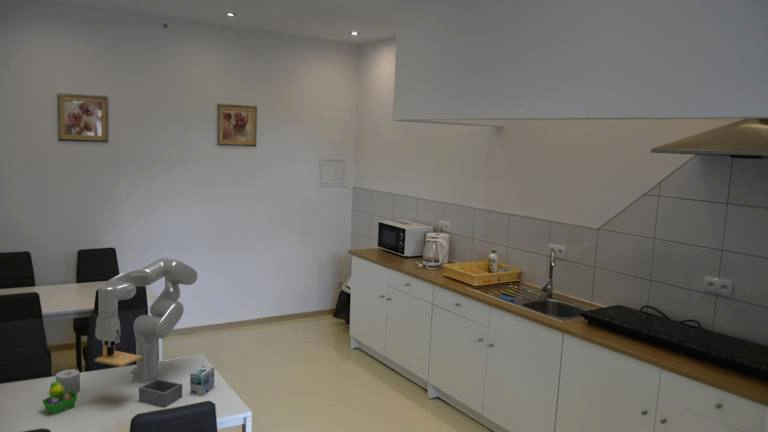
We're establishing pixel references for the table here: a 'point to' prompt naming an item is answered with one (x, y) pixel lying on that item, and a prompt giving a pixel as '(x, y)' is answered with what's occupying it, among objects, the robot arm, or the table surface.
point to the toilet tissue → (69, 380)
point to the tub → (157, 397)
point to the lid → (117, 358)
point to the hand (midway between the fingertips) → (108, 354)
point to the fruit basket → (59, 399)
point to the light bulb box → (202, 380)
